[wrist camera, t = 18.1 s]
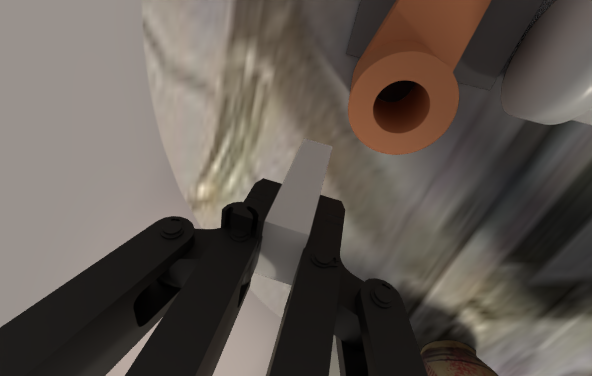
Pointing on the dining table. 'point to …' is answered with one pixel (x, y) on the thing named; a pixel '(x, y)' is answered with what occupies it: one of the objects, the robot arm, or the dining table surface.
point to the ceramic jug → (453, 360)
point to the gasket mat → (481, 48)
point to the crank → (412, 73)
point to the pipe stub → (553, 67)
